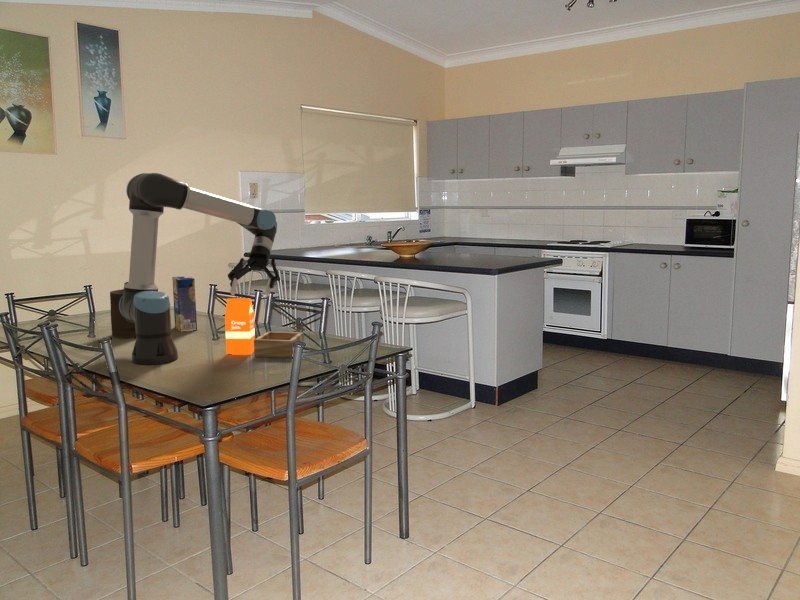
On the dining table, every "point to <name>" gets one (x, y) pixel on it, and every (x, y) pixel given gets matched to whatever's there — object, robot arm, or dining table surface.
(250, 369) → the dining table surface
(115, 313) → the wooden container
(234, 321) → the orange juice
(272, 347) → the box
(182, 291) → the beverage box
